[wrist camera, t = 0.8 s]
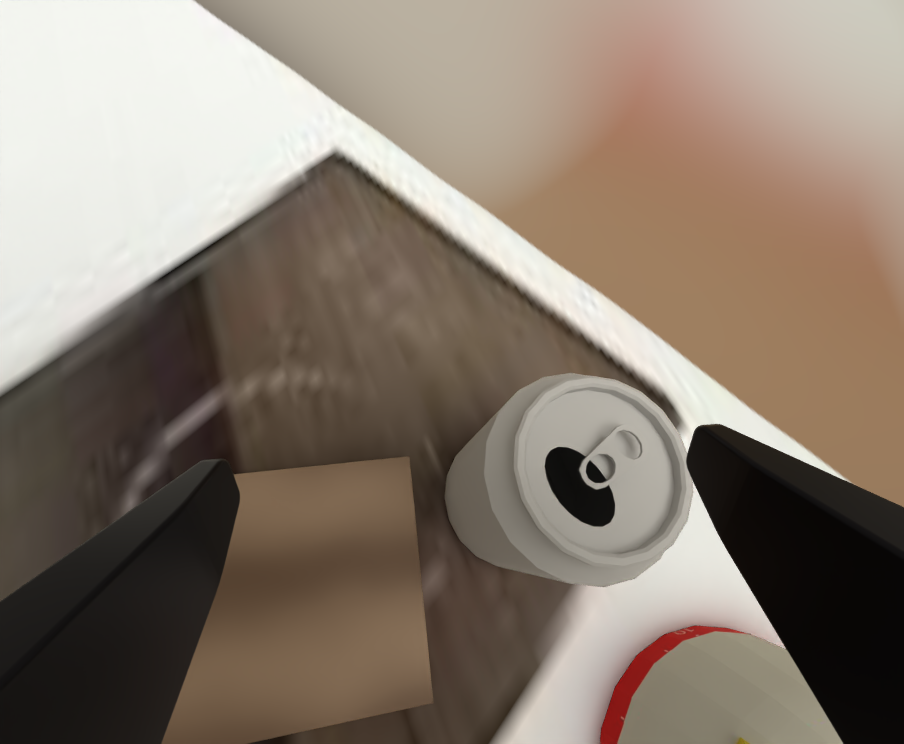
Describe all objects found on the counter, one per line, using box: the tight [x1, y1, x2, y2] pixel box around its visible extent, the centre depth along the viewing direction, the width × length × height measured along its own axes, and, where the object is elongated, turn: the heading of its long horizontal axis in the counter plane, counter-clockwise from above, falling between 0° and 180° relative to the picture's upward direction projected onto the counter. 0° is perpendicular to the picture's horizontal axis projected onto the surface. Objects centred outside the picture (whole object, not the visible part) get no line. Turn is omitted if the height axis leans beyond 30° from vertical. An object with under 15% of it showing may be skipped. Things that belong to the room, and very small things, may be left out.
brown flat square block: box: [162, 456, 433, 744], centre depth 21 cm, size 11×11×2 cm
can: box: [445, 373, 693, 587], centre depth 20 cm, size 8×8×12 cm
